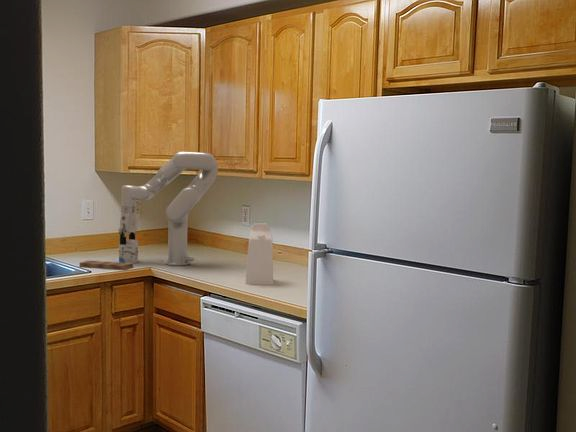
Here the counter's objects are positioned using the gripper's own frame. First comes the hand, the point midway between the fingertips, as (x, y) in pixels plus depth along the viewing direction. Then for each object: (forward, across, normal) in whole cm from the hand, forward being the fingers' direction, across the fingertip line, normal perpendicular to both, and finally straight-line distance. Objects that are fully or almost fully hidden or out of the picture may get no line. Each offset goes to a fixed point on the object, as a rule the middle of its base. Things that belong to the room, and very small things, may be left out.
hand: (127, 243), depth 306 cm
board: (+10, -15, +3) cm, 18 cm away
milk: (+9, -24, -76) cm, 80 cm away
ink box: (+10, 0, -1) cm, 10 cm away
